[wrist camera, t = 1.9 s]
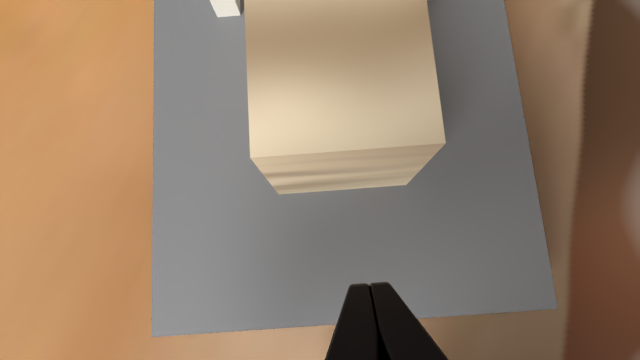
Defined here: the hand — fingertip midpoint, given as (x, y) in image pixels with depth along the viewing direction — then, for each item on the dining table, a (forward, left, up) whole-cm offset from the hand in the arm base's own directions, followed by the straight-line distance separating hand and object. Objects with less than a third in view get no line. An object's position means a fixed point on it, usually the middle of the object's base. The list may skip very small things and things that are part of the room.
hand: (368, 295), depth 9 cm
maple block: (+8, 0, -10) cm, 13 cm away
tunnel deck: (+22, 0, -14) cm, 26 cm away
